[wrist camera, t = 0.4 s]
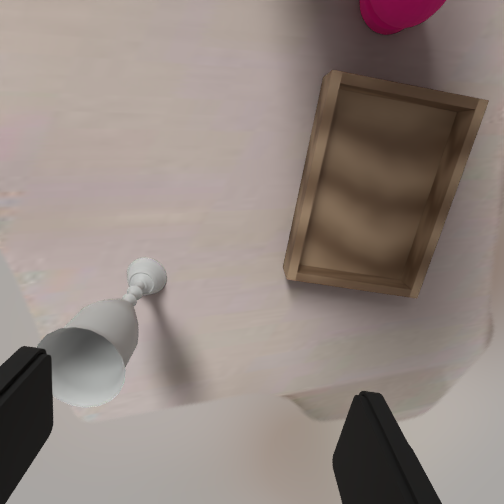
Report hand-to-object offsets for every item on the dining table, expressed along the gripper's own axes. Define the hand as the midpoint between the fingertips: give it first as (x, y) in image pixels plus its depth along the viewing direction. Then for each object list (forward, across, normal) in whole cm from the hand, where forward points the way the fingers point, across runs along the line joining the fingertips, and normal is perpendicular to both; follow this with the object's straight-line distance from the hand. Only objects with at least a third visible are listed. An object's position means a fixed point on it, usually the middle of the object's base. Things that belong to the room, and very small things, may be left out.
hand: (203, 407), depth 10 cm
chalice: (+31, +10, +11) cm, 34 cm away
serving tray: (+31, -15, -4) cm, 35 cm away
